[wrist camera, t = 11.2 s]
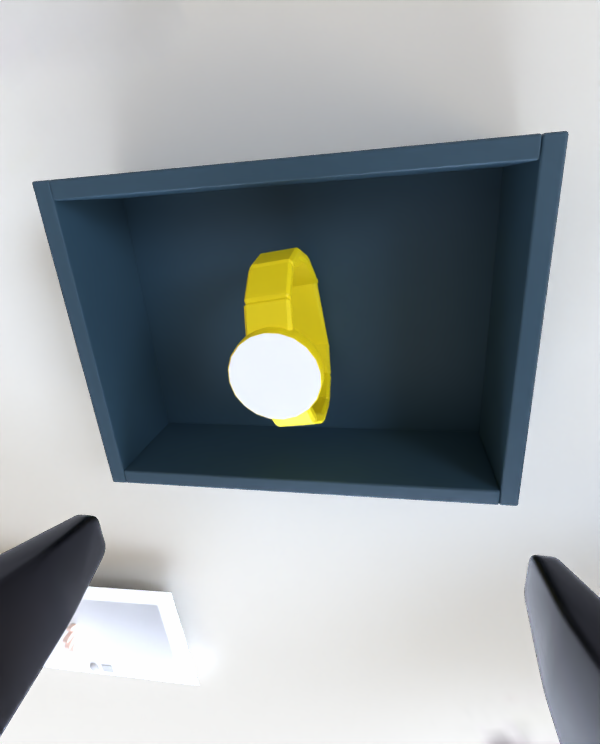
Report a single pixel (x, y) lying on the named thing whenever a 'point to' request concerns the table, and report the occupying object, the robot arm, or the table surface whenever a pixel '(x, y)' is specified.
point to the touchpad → (126, 637)
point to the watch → (283, 342)
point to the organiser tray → (340, 310)
